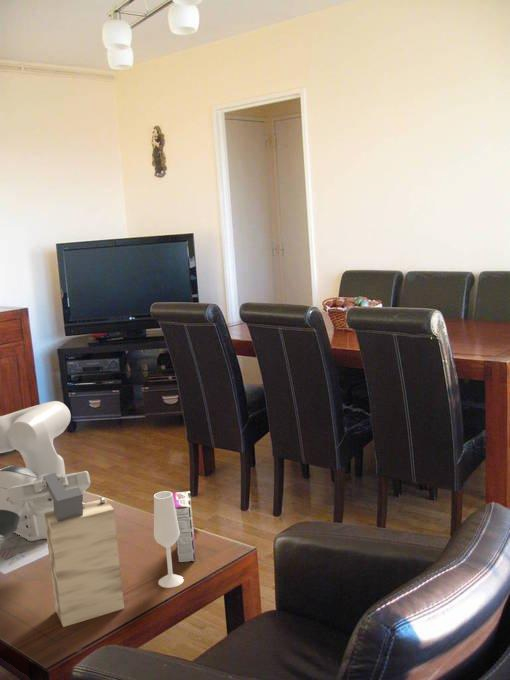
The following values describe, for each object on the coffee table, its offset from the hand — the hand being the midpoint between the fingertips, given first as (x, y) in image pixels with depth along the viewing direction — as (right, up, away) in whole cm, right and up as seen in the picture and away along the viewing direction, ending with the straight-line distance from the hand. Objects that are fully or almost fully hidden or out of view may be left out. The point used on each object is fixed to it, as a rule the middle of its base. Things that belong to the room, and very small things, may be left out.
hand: (53, 481), depth 183 cm
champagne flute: (+28, -28, +11) cm, 41 cm away
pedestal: (+9, -32, 0) cm, 33 cm away
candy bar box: (+30, -25, +26) cm, 47 cm away
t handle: (+2, -4, -3) cm, 5 cm away
